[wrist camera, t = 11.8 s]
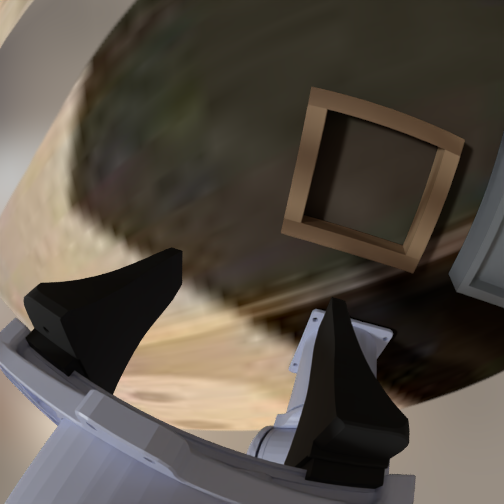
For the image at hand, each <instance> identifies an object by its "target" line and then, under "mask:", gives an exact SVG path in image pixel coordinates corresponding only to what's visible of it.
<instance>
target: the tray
mask: <svg viewBox="0 0 504 504" xmlns="http://www.w3.org/2000/svg"><path fill="white" fill-rule="evenodd" d="M449 276H450V278H451V280H452V283H453V285H454V287H455V290H456V292H459V293H462V294H465V295H468V296H471V297H474V298H477V299H480V300H483V301H486V302H489V303H491V304H494V305H497V306H500V307H503V308H504V132H503V136H502V140H501V144H500V148H499V151H498V155H497V158H496V162H495V165H494V168H493V171H492V174H491V177H490V180H489V183H488V186H487V189H486V192H485V194H484V197H483V200H482V202H481V205H480V207H479V210H478V212H477V215H476V217H475V219H474V222H473V224H472V226H471V229H470V231H469V233H468V235H467V238H466V240H465V242H464V244H463V246H462V248H461V250H460V252H459V254H458V256H457V258H456V260H455V262H454V264H453V266H452V268H451V270H450V272H449Z"/></svg>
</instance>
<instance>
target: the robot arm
mask: <svg viewBox="0 0 504 504" xmlns="http://www.w3.org/2000/svg"><path fill="white" fill-rule="evenodd" d="M181 285H182V251H181V250H178V249H175V248H169V249H166V250H164V251H161V252H159V253H157V254H154V255H152V256H150V257H148V258H145V259H143V260H141V261H138V262H136V263H133V264H131V265H128V266H126V267H123V268H121V269H118V270H115V271H112V272H109V273H105V274H102V275H98V276H94V277H89V278H85V279H80V280H73V281H65V282H49V283H40V284H39V285H37V286H36V287H35V288H34V289H33V290H32V291H30V292H29V293H28V294H27V295H26V296H25V297H24V306H25V308H26V311H27V313H28V315H29V318H30V320H31V322H32V324H33V326H34V329H33V330H32V331H30V330H29V329H28V328H27V327H26V326H25V325H24V324H23V323H22V322H21V321H19V320H18V319H17V318H14V319H13V320H12V321H11V322H10V323H9V324H8V325H7V326H6V327H5V328H4V329H3V330H2V331H1V332H0V369H1V370H2V371H3V373H4V374H5V375H6V377H7V378H8V379H9V380H10V381H11V382H12V383H13V384H14V385H15V386H16V387H17V388H18V389H19V390H20V391H21V392H22V393H23V394H24V395H25V396H26V397H27V398H28V399H29V400H30V401H31V402H32V403H33V404H34V405H35V406H36V407H37V408H38V409H40V411H42V412H43V413H44V414H45V415H46V416H47V417H48V418H49V419H51V420H52V421H53V422H54V423H55V424H56V425H57V426H58V427H57V428H56V429H55V431H54V432H53V434H52V435H51V436H50V438H49V439H48V440H47V442H46V443H45V445H44V446H43V447H42V449H41V450H40V452H39V453H38V455H37V456H36V457H35V459H34V460H33V462H32V463H31V464H30V466H29V467H28V469H27V470H26V472H25V473H24V475H23V476H22V478H21V479H20V480H19V482H18V483H17V485H16V487H15V488H14V490H13V491H12V493H11V494H10V496H9V497H8V499H7V500H6V502H5V503H4V504H413V501H414V491H415V477H416V476H415V475H401V474H389V463H390V458H392V457H393V456H395V455H396V454H398V453H400V452H401V451H402V450H404V449H405V448H406V447H407V446H408V444H409V422H408V418H406V416H405V415H404V414H403V413H402V412H401V411H400V410H399V409H398V407H397V406H396V405H395V404H394V403H393V401H392V400H391V399H390V398H389V396H388V395H387V394H386V392H385V391H384V389H383V388H382V386H381V385H380V383H379V382H378V380H377V379H376V376H377V358H378V357H379V355H380V354H381V353H382V351H383V350H384V348H385V347H386V345H387V344H388V342H389V341H390V339H391V338H392V336H393V331H392V330H390V329H387V328H383V327H380V326H376V325H372V324H369V323H365V322H361V321H358V320H354V319H351V318H350V316H349V312H348V309H347V305H346V302H345V301H344V300H340V299H337V298H334V297H332V298H331V300H330V303H329V305H328V307H327V310H326V311H323V310H319V309H315V310H313V311H312V313H311V316H310V318H309V321H308V323H307V326H306V328H305V331H304V333H303V336H302V338H301V340H300V343H299V345H298V348H297V350H296V352H295V355H294V357H293V359H292V362H291V364H290V366H289V371H291V372H293V373H297V375H296V379H295V383H294V386H293V390H292V394H291V398H290V401H289V405H288V408H287V412H286V414H278V415H277V417H276V420H275V423H274V426H266V427H264V428H263V429H261V430H260V431H259V432H258V434H257V435H256V436H255V437H254V439H253V440H252V442H251V444H250V446H249V448H248V451H247V454H244V453H241V452H237V451H235V450H232V449H229V448H226V447H223V446H220V445H218V444H215V443H212V442H210V441H207V440H204V439H202V438H199V437H197V436H194V435H192V434H190V433H187V432H185V431H183V430H180V429H178V428H176V427H174V426H171V425H169V424H167V423H165V422H163V421H161V420H159V419H157V418H155V417H153V416H151V415H149V414H147V413H145V412H143V411H141V410H139V409H137V408H135V407H133V406H131V405H130V404H128V403H126V402H124V401H122V400H121V399H119V398H117V397H116V396H114V395H113V393H114V391H115V389H116V386H117V384H118V382H119V380H120V378H121V376H122V374H123V372H124V370H125V368H126V366H127V364H128V362H129V360H130V358H131V357H132V355H133V353H134V351H135V350H136V348H137V346H138V345H139V343H140V342H141V340H142V338H143V337H144V335H145V334H146V333H147V331H148V330H149V329H150V327H151V326H152V325H153V324H154V322H155V321H156V320H157V319H158V318H159V316H160V315H161V314H162V313H163V311H164V310H165V309H166V308H167V306H168V305H169V304H170V303H171V301H172V300H173V299H174V297H175V295H176V294H177V292H178V290H179V289H180V287H181ZM314 318H317V319H314ZM384 337H387V338H384ZM388 474H389V475H388Z"/></svg>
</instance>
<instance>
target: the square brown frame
mask: <svg viewBox="0 0 504 504" xmlns="http://www.w3.org/2000/svg"><path fill="white" fill-rule="evenodd" d="M328 109H329V110H333V111H337V112H340V113H344V114H348V115H351V116H354V117H358V118H361V119H365V120H368V121H371V122H374V123H377V124H380V125H383V126H386V127H389V128H392V129H395V130H398V131H400V132H403V133H406V134H408V135H411V136H414V137H416V138H419V139H421V140H424V141H426V142H429V143H431V144H433V145H436V146H438V149H437V153H436V156H435V160H434V163H433V166H432V169H431V172H430V175H429V178H428V181H427V184H426V187H425V190H424V193H423V196H422V199H421V201H420V204H419V207H418V209H417V212H416V215H415V217H414V220H413V222H412V225H411V227H410V230H409V232H408V234H407V237H406V239H405V242H404V244H403V245H400V244H397V243H394V242H391V241H388V240H385V239H381V238H378V237H375V236H372V235H369V234H366V233H363V232H359V231H356V230H353V229H350V228H346V227H343V226H340V225H337V224H333V223H330V222H326V221H323V220H320V219H316V218H313V217H309V216H306V215H304V212H305V208H306V204H307V200H308V196H309V192H310V187H311V183H312V179H313V175H314V171H315V167H316V162H317V158H318V154H319V149H320V145H321V140H322V136H323V131H324V127H325V122H326V117H327V113H328ZM464 141H465V140H464V139H462V138H460V137H458V136H456V135H454V134H452V133H450V132H447V131H445V130H443V129H441V128H438V127H436V126H434V125H432V124H429V123H427V122H424V121H422V120H419V119H417V118H414V117H412V116H409V115H407V114H404V113H401V112H398V111H396V110H393V109H390V108H387V107H384V106H381V105H378V104H375V103H372V102H368V101H365V100H362V99H358V98H355V97H351V96H348V95H344V94H340V93H336V92H332V91H328V90H324V89H320V88H315V87H311V92H310V97H309V103H308V108H307V113H306V118H305V123H304V128H303V133H302V137H301V142H300V147H299V152H298V157H297V161H296V166H295V171H294V176H293V180H292V185H291V189H290V194H289V199H288V203H287V208H286V212H285V217H284V221H283V226H282V230H281V233H282V234H286V235H289V236H293V237H296V238H300V239H303V240H306V241H310V242H313V243H317V244H320V245H323V246H327V247H330V248H333V249H337V250H340V251H343V252H347V253H350V254H353V255H357V256H360V257H363V258H366V259H370V260H373V261H376V262H379V263H382V264H386V265H389V266H392V267H395V268H398V269H401V270H404V271H408V272H411V273H414V271H415V269H416V267H417V265H418V263H419V260H420V258H421V256H422V254H423V252H424V250H425V248H426V246H427V243H428V241H429V239H430V237H431V234H432V232H433V230H434V227H435V225H436V223H437V220H438V218H439V215H440V213H441V210H442V208H443V205H444V202H445V200H446V197H447V194H448V192H449V189H450V186H451V183H452V180H453V177H454V174H455V171H456V168H457V165H458V162H459V159H460V155H461V152H462V148H463V145H464Z"/></svg>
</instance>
